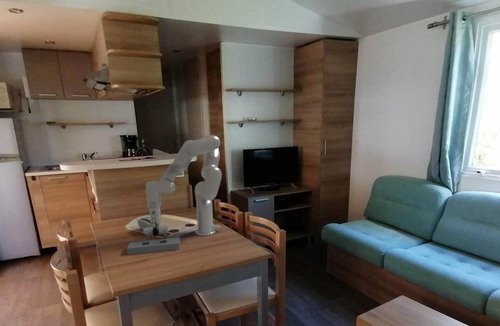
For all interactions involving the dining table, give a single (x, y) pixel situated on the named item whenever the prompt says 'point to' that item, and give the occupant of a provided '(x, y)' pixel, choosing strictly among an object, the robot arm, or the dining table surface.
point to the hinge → (144, 223)
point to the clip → (161, 229)
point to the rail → (153, 246)
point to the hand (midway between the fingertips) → (156, 234)
